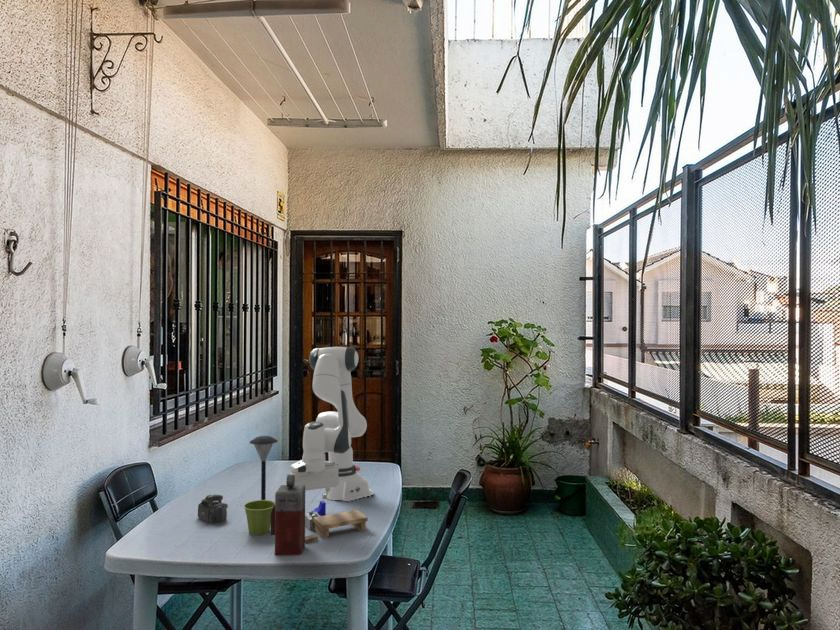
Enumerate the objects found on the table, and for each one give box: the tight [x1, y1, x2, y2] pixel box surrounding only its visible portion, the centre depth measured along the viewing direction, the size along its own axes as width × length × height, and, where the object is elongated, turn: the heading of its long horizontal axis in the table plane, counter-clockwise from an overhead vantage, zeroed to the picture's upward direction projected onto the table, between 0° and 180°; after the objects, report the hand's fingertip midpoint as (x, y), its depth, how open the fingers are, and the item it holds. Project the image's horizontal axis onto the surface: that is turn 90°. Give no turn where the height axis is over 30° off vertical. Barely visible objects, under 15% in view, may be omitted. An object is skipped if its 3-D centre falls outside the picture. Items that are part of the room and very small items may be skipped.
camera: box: [197, 494, 229, 524], centre depth 236 cm, size 13×10×10 cm
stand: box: [313, 509, 368, 539], centre depth 222 cm, size 18×10×6 cm, turn 121°
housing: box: [305, 510, 320, 531], centre depth 227 cm, size 5×8×6 cm, turn 28°
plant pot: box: [243, 499, 275, 536], centre depth 220 cm, size 12×12×11 cm
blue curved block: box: [307, 500, 327, 516], centre depth 239 cm, size 12×4×6 cm, turn 118°
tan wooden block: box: [305, 534, 319, 544], centre depth 210 cm, size 5×3×3 cm, turn 129°
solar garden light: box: [248, 435, 279, 500], centre depth 252 cm, size 12×12×30 cm
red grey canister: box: [270, 473, 306, 556], centre depth 201 cm, size 9×11×28 cm
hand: (313, 500), depth 226 cm, fingers open, 8 cm apart
